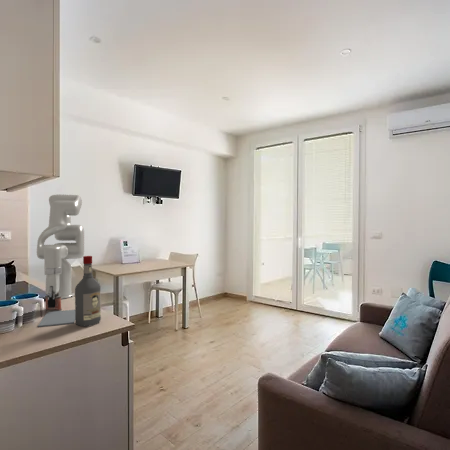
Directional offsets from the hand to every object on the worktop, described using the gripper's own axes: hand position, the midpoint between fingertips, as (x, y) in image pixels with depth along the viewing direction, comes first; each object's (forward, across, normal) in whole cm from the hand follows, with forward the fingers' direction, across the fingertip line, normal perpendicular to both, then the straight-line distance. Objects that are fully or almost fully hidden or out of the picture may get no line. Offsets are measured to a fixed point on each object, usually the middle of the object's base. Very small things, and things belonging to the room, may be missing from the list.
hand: (53, 304), depth 158 cm
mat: (+3, +14, +5) cm, 15 cm away
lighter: (+3, 0, 0) cm, 3 cm away
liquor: (+3, +25, +18) cm, 31 cm away
